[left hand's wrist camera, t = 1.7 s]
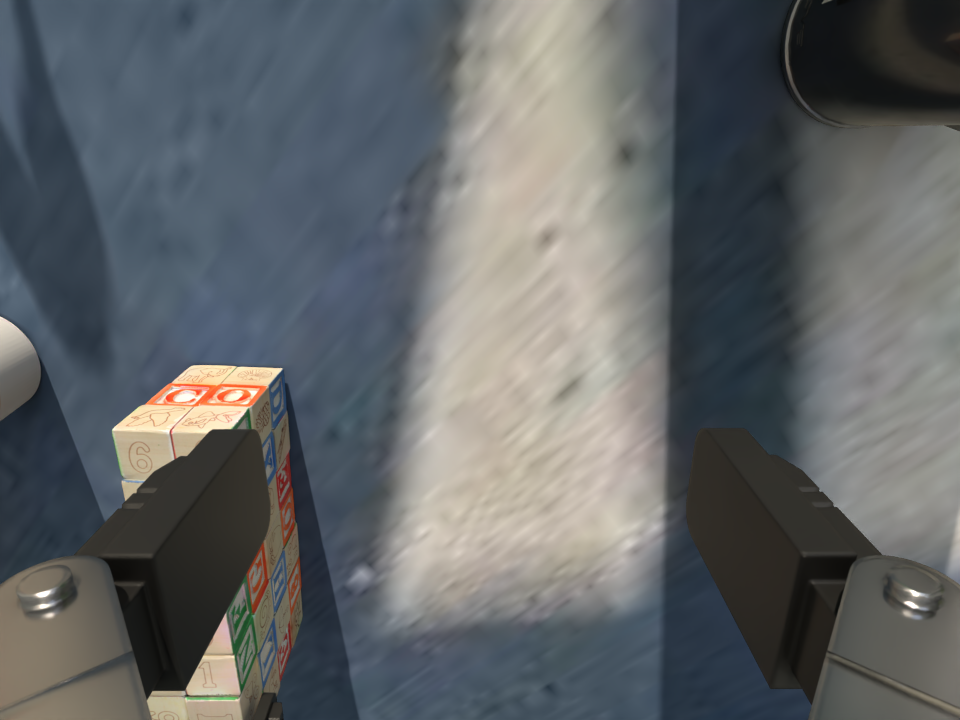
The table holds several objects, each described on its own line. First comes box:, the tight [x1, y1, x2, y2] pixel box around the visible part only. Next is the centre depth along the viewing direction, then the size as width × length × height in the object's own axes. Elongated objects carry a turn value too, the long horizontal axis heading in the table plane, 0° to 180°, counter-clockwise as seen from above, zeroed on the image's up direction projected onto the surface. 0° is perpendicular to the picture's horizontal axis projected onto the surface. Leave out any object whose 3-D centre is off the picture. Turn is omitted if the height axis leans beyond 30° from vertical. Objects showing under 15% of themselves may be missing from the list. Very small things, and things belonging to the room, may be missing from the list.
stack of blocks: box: [112, 365, 303, 720], centre depth 38 cm, size 21×6×12 cm, turn 178°
